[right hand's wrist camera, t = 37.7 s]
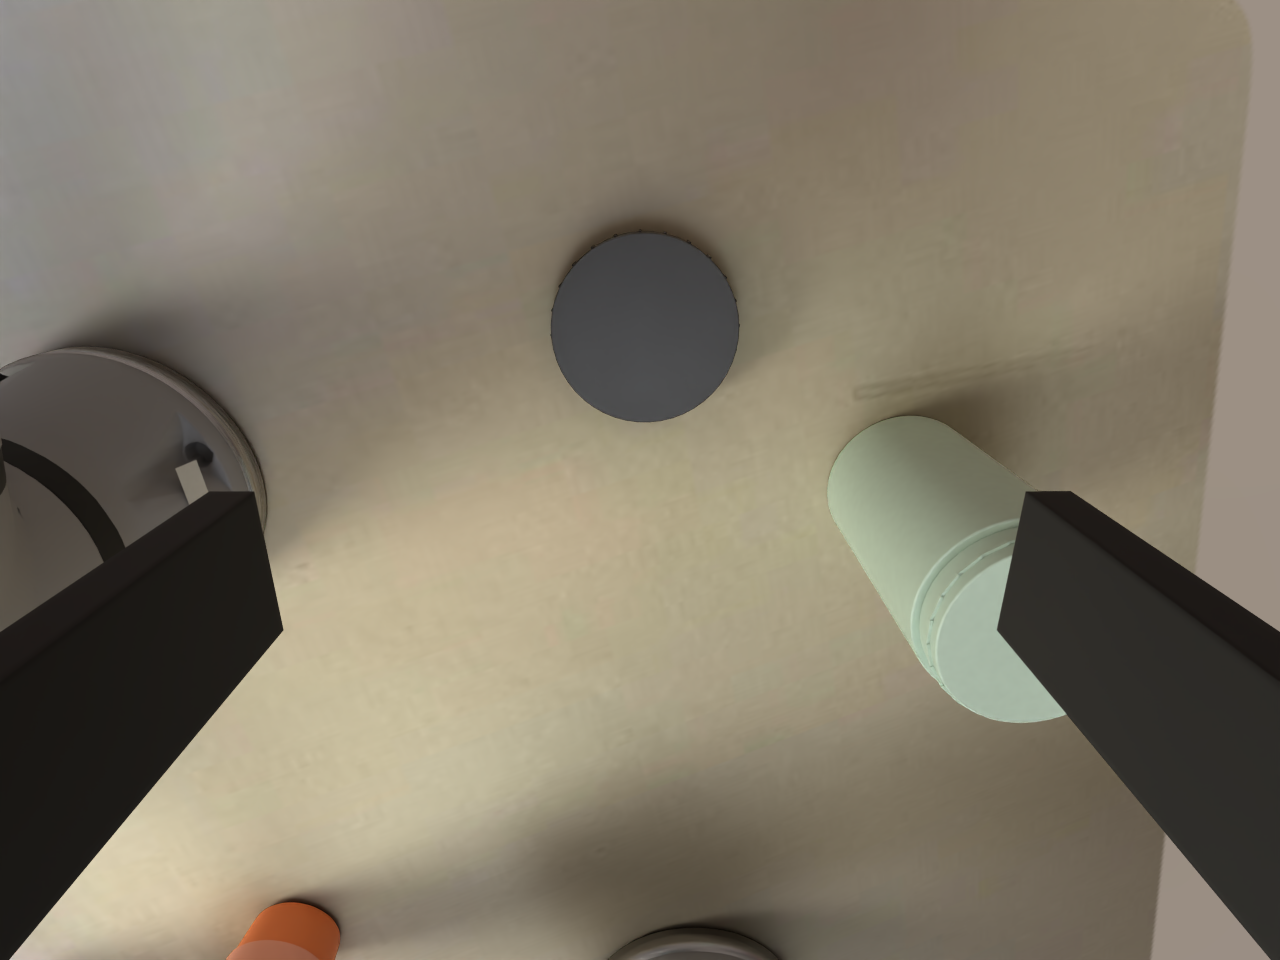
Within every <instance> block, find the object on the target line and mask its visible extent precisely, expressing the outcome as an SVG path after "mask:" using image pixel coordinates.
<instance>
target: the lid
mask: <svg viewBox="0 0 1280 960" xmlns="http://www.w3.org/2000/svg"><path fill="white" fill-rule="evenodd" d="M572 266H573V267H572V269H571V270H570V271H569V273H568V274H567V275H566V277H565V279H564V280H563V282H562V283H561V284H560V285H559V291H558V293H557V296H556V298H555V302H554V306H553V308H552V318H551V338H552V344H553V350H554V353H555V357H556V360H557V362H558V365H559V367H560V369H561V371H562V373H563V375H564V376H565V378H566V380H567V381H568V383H569V384H570V385H571V387H572V388H573V389H574V390H575V392H576V393H577V394H578V395H579V396H581V397H582V398H583V399H584V400H585V401H586V402H587V403H589V404H590V405H591V406H593V407H594V408H596V409H598V410H600V411H601V412H603V413H605V414H608V415H610V416H613V417H615V418H619V419H623V420H627V421H634V422H656V421H663V420H667V419H671V418H674V417H677V416H679V415H682V414H684V413H686V412H688V411H690V410H692V409H694V408H695V407H697V406H698V405H699V404H701V403H702V402H704V401H705V400H706V399H707V398H708V397H709V396H710V395H711V394H712V393H713V392H714V391H715V390H716V389H717V387H718V386H719V385H720V384H721V382H722V381H723V379H724V378H725V376H726V375H727V373H728V371H729V369H730V366H731V364H732V362H733V359H734V356H735V353H736V350H737V344H738V337H739V327H740V324H739V318H738V311H737V306H736V302H737V301H736V299H735V298H734V296H733V293H732V290H731V288H730V286H729V284H728V282H727V280H726V279H727V277H726V276H725V275H724V274H722V272H721V271H720V269H719V268H718V267H717V266H716V265H715V264H714V262H713V261H712V260H711V257H710V256H709V255H708V254H707V255H705V254H704V253H703V252H702V251H700V250H699V249H698V248H696V247H695V246H693V245H692V244H691V242H690V241H689V240H687V241H685V240H682V239H680V238H678V237H676V236H672V235H669V234H667V232H665V231H664V233H660V232H654V231H641V229H639V231H637V232H629V233H625V234H621V235H617V234H615V235H614V237H612V238H610V239H607V240H605V241H603V242H602V243H600V244H598V245H597V246H595V245H593V246H592V247H591V250H590V251H588V252H587V253H586V254H585V255H584V256H583V257H582V258H581V259H580V260H579V261H578V262H574V263H573V265H572Z"/></svg>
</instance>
